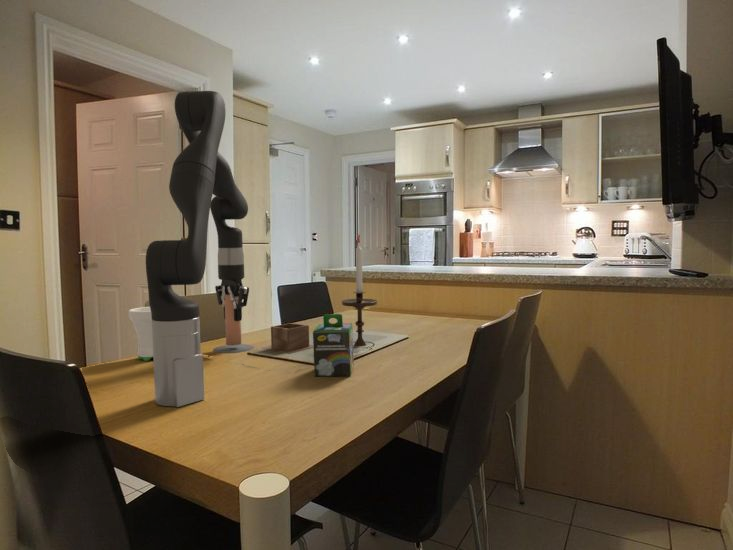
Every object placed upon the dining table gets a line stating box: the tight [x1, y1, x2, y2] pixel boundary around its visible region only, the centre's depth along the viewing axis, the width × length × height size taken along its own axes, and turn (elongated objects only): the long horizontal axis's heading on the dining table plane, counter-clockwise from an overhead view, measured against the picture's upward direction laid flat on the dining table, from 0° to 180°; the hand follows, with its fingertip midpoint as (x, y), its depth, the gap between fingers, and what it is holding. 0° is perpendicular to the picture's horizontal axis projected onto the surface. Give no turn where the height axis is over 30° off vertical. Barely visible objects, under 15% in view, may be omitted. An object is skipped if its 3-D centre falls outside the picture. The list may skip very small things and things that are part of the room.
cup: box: [128, 306, 153, 362], centre depth 136 cm, size 11×11×14 cm
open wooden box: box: [261, 322, 313, 355], centre depth 144 cm, size 12×12×7 cm
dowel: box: [224, 295, 242, 345], centre depth 143 cm, size 4×4×15 cm
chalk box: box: [312, 313, 355, 377], centre depth 119 cm, size 9×9×15 cm
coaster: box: [212, 343, 255, 354], centre depth 143 cm, size 12×12×1 cm
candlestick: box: [341, 233, 378, 349], centre depth 145 cm, size 11×11×35 cm
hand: (232, 319), depth 143 cm, fingers closed on dowel, 4 cm apart
